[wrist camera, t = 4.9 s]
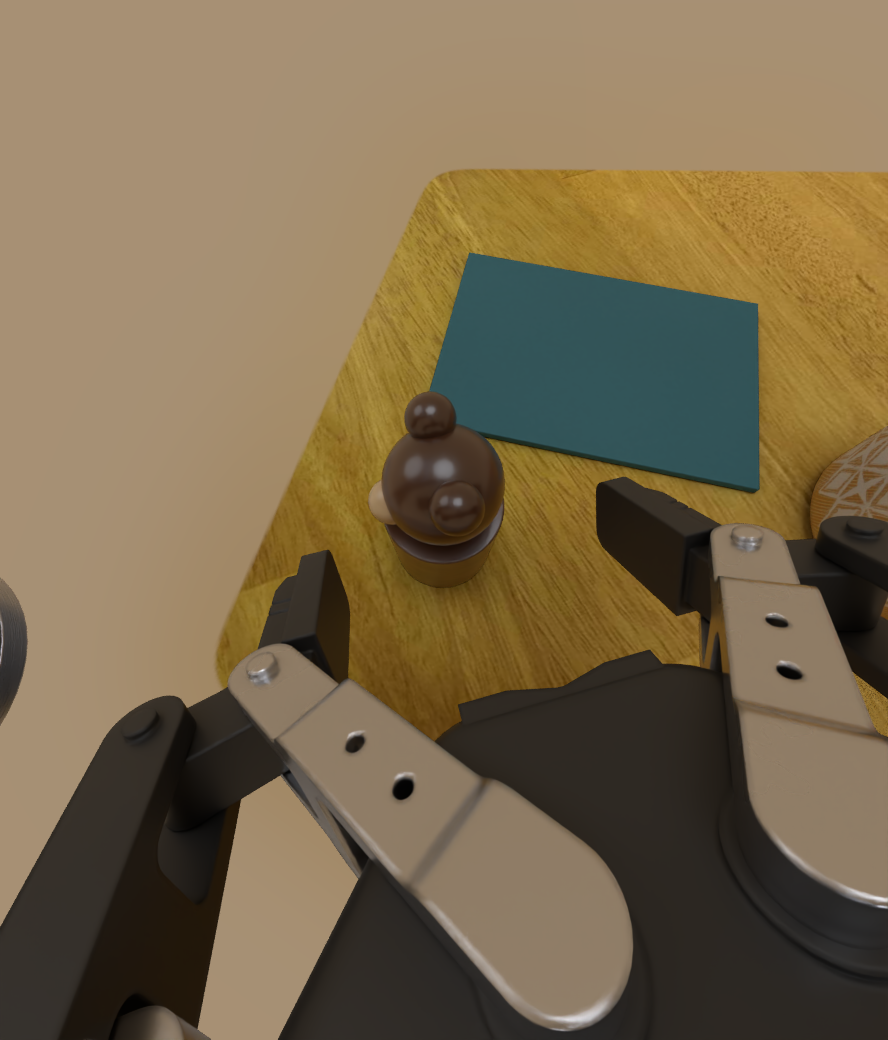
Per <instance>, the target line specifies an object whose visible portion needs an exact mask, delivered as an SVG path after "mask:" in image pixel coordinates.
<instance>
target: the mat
mask: <svg viewBox="0 0 888 1040" xmlns="http://www.w3.org/2000/svg"><path fill="white" fill-rule="evenodd" d="M429 392H437V393H440V394H442V395H444V396H446V397H447V398H448V399H449V400H450V401H451V402H452V404H453V406H454V408H455V411H456V416H457V422H456V423H458V424H461V425H464V426H467V427H469V428H471V429H473V430H474V431H476V432H478V433H479V434H480V435H482V436H483V437H488V438H493V439H498V440H503V441H508V442H512V443H517V444H522V445H527V446H532V447H536V448H541V449H546V450H551V451H556V452H560V453H565V454H570V455H575V456H580V457H584V458H589V459H594V460H599V461H604V462H608V463H613V464H618V465H623V466H628V467H633V468H637V469H642V470H647V471H652V472H657V473H661V474H666V475H671V476H676V477H681V478H685V479H690V480H695V481H700V482H705V483H709V484H714V485H719V486H724V487H729V488H733V489H738V490H743V491H748V492H753V493H754V492H756V491H758V490H759V375H758V304H756V303H750V302H745V301H739V300H734V299H728V298H722V297H717V296H711V295H705V294H700V293H694V292H689V291H683V290H677V289H672V288H666V287H660V286H655V285H649V284H644V283H638V282H632V281H627V280H621V279H615V278H610V277H604V276H599V275H593V274H587V273H582V272H576V271H570V270H565V269H559V268H554V267H548V266H542V265H537V264H531V263H525V262H520V261H514V260H508V259H503V258H497V257H492V256H486V255H480V254H475V253H469V256H468V259H467V262H466V266H465V269H464V273H463V276H462V280H461V283H460V287H459V290H458V294H457V297H456V301H455V304H454V307H453V311H452V314H451V318H450V321H449V325H448V328H447V332H446V335H445V339H444V342H443V346H442V349H441V353H440V356H439V359H438V363H437V366H436V370H435V373H434V377H433V380H432V384H431V387H430V391H429Z"/></svg>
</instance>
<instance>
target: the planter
mask: <svg viewBox="0 0 888 1040" xmlns="http://www.w3.org/2000/svg"><path fill="white" fill-rule="evenodd" d="M836 516H861V517H868V518H874V519H878V520H882V521H886V522H888V426H886V427H885V428H883V429H882V430H880V431H879V432H877V433H875V434H874V435H872V436H871V437H869V438H867V439H866V440H864V441H863V442H861V443H860V444H858V445H856V446H855V447H853V448H852V449H850V450H848V451H847V452H845V453H844V454H842V455H841V456H839V457H838V458H837V459H835V460H834V461H833V462H832V463H831V464H830V465H829V466H828V467H827V468H826V469H825V470H824V472H823V473H822V475H821V476H820V478H819V480H818V482H817V483H816V486H815V488H814V491H813V494H812V498H811V505H810V523H811V529H812V534H813V537H814V539H817V535H818V531H819V527H820V524H821V522H823V521H824V520H826V519H828V518H831V517H836ZM881 616H882V617H883V618H885V619H886V620H888V598H887V601H886V603H885V606H884V608H883V611H882V613H881Z"/></svg>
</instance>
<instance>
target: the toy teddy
mask: <svg viewBox="0 0 888 1040" xmlns="http://www.w3.org/2000/svg"><path fill="white" fill-rule="evenodd" d="M456 422H457V416H456V411H455V408H454V406H453V404H452V402H451V401H450V400H449V399H448V398H447V397H446V396H444V395H442V394H440V393H437V392H424V393H421V394H419V395H417V396H415V397H414V398H413V399H412V400H411V401H410V402H409V404H408V406H407V408H406V411H405V426H406V429H407V431H408V433H407V434H406V435H405V436H403V437H402V438H401V439H400V440H399V441H398V442H397V443H396V444H395V446H394V447H393V448H392V450H391V451H390V453H389V455H388V457H387V459H386V461H385V464H384V468H383V472H382V480H380V481H379V482H377V483H376V484H375V485H374V486H373V488H372V489H371V491H370V494H369V499H368V503H369V508H370V511H371V513H372V514H373V516H374V517H375V518H376V519H377V520H379V521H380V522H382V523H384V524H385V527H386V529H387V532H388V534H389V536H390V539H391V541H392V543H393V546H394V548H395V550H396V553H397V555H398V557H399V560H400V562H401V564H402V565H403V567H404V568H405V570H406V571H407V572H408V573H409V574H410V575H411V576H412V577H413V578H415V579H416V580H417V581H419V582H421V583H423V584H426V585H429V586H432V587H439V588H446V587H453V586H457V585H460V584H462V583H464V582H466V581H468V580H469V579H471V578H472V577H473V576H475V575H476V574H477V573H478V571H479V570H480V569H481V568H482V566H483V565H484V563H485V560H486V558H487V556H488V554H489V552H490V549H491V547H492V545H493V543H494V540H495V538H496V536H497V534H498V531H499V529H500V527H501V524H502V521H503V516H504V498H503V496H504V490H505V479H504V471H503V467H502V464H501V461H500V459H499V457H498V455H497V453H496V451H495V450H494V448H493V447H492V445H491V444H490V443H489V442H488V441H487V440H486V439H485V438H484V437H483V436H482V435H480V434H479V433H478V432H476V431H474V430H473V429H471V428H469V427H467V426H464V425H461V424H458V423H456Z"/></svg>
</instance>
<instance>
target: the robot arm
mask: <svg viewBox="0 0 888 1040" xmlns="http://www.w3.org/2000/svg"><path fill="white" fill-rule="evenodd" d="M596 528H597V535H598V539H599V541H600V543H601V545H602V547H603V548H604V549H605V550H606V551H607V552H608V553H609V554H610V555H611V556H612V557H614V558H615V559H616V560H617V561H618V562H619V563H620V564H621V565H622V566H623V567H624V568H625V569H626V570H628V571H629V572H630V573H631V574H632V575H633V576H634V577H635V578H636V579H637V580H638V581H639V582H640V583H642V584H643V585H644V586H645V587H646V588H647V589H648V590H649V591H650V592H651V593H652V594H653V595H654V596H656V597H657V598H658V599H659V600H660V601H661V602H662V603H663V604H664V605H665V606H666V607H667V608H668V609H670V610H671V611H672V612H673V613H674V614H675V615H676V616H679V615H683V614H686V613H690V612H693V611H698V612H699V613H700V618H699V654H700V667H697V666H691V665H683V664H662V663H661V662H660V661H659V659H658V658H657V657H656V656H655V655H654V654H653V653H652V652H651V650H646V651H643V652H639V653H636V654H632V655H629V656H625V657H622V658H619V659H615V660H612V661H608V662H605V663H603V664H601V665H599V666H597V667H596V668H594V669H592V670H591V671H589V672H587V673H585V674H584V675H582V676H580V677H579V678H577V679H575V680H574V681H572V682H570V683H568V684H567V685H565V686H562V687H558V688H543V689H526V690H510V691H504V692H500V693H497V694H493V695H490V696H486V697H483V698H479V699H476V700H472V701H469V702H465V703H462V704H458V707H459V711H460V715H461V719H462V721H461V722H459V723H457V724H456V725H454V726H452V727H451V728H450V729H448V730H447V731H446V732H444V733H443V734H442V735H441V736H440V737H439V738H438V739H437V740H435V741H433V740H431V739H430V738H429V737H427V736H426V735H425V734H423V733H422V732H421V731H420V730H418V729H417V728H416V727H414V726H413V725H412V724H410V723H409V722H408V721H406V720H405V719H404V718H402V717H401V716H400V715H399V714H397V713H396V712H395V711H393V710H392V709H391V708H389V707H388V706H387V705H385V704H384V703H383V702H381V701H380V700H379V699H378V698H376V697H375V696H374V695H372V694H371V693H370V692H368V691H367V690H366V689H364V688H363V687H362V686H360V685H359V684H358V683H356V682H355V681H354V680H352V679H349V678H348V664H349V632H350V609H349V603H348V599H347V595H346V592H345V589H344V587H343V584H342V581H341V578H340V575H339V573H338V570H337V567H336V564H335V562H334V559H333V556H332V554H331V552H330V551H329V550H325V551H321V552H317V553H313V554H309V555H305V556H302V557H301V561H300V565H299V569H298V573H297V575H296V576H292V577H288V578H286V579H285V580H284V582H283V583H282V584H281V585H280V586H279V587H278V589H277V590H276V591H275V595H274V598H273V601H272V606H271V608H270V611H269V616H268V617H267V621H266V624H265V627H264V630H263V633H262V637H261V640H260V643H259V646H258V650H256V651H254V652H253V653H251V654H249V655H248V656H247V657H245V658H244V659H243V660H242V661H241V662H240V663H239V664H238V665H237V666H236V667H235V668H234V670H233V671H232V673H231V674H230V676H229V679H228V687H227V688H226V689H224V690H222V691H220V692H218V693H217V694H215V695H212V696H210V697H208V698H206V699H205V700H203V701H201V702H199V703H197V704H195V705H193V706H191V707H189V708H187V707H186V706H185V704H184V703H183V701H182V700H181V699H180V698H178V697H175V696H162V697H159V698H155V699H153V700H150V701H148V702H146V703H144V704H142V705H140V706H138V707H137V708H135V709H134V710H132V711H131V712H129V713H128V714H127V715H125V716H124V717H123V718H122V719H121V720H119V721H118V722H117V723H116V724H115V725H114V726H113V727H112V729H111V730H110V731H109V733H108V734H107V735H106V737H105V738H104V740H103V742H102V743H101V745H100V747H99V749H98V751H97V752H96V754H95V756H94V758H93V760H92V762H91V763H90V765H89V767H88V769H87V771H86V772H85V774H84V776H83V778H82V780H81V782H80V783H79V785H78V787H77V789H76V791H75V792H74V794H73V796H72V798H71V800H70V802H69V803H68V805H67V807H66V809H65V810H64V812H63V814H62V816H61V818H60V820H59V821H58V823H57V825H56V827H55V829H54V830H53V832H52V834H51V836H50V838H49V839H48V841H47V843H46V845H45V847H44V849H43V850H42V852H41V854H40V856H39V858H38V859H37V861H36V863H35V865H34V867H33V868H32V870H31V872H30V874H29V876H28V878H27V879H26V881H25V883H24V885H23V887H22V889H21V890H20V892H19V894H18V896H17V898H16V899H15V901H14V903H13V905H12V907H11V908H10V910H9V912H8V914H7V916H6V918H5V919H4V921H3V923H2V925H1V926H0V1040H211V1039H210V1038H209V1037H207V1036H206V1035H204V1034H203V1033H201V1032H200V1031H199V1030H197V1029H198V1023H199V1018H200V1013H201V1007H202V1002H203V997H204V992H205V987H206V981H207V975H208V971H209V965H210V960H211V955H212V950H213V944H214V939H215V934H216V929H217V923H218V918H219V913H220V908H221V902H222V897H223V892H224V887H225V881H226V876H227V871H228V865H229V860H230V855H231V850H232V845H233V839H234V834H235V829H236V824H237V818H238V813H239V808H240V802H241V799H242V798H244V797H245V796H247V795H249V794H250V793H252V792H253V791H255V790H257V789H258V788H260V787H262V786H263V785H265V784H267V783H268V782H270V781H272V780H273V779H275V778H277V777H278V776H280V775H281V777H282V778H283V779H284V781H285V782H286V783H287V785H288V786H289V787H290V788H291V790H292V791H293V792H294V793H295V794H296V796H297V797H298V798H299V800H300V801H301V802H302V804H303V805H304V806H305V807H306V809H307V810H308V811H309V812H310V814H311V815H312V816H313V818H314V819H315V820H316V821H317V823H318V824H319V825H320V826H321V828H322V829H323V830H324V832H325V833H326V834H327V836H328V837H329V838H330V840H331V841H332V843H333V844H334V846H335V847H336V849H337V850H338V852H339V853H340V855H341V856H342V857H343V859H344V860H345V861H346V863H347V864H348V866H349V867H350V868H351V870H352V871H353V872H354V874H355V875H356V876H357V878H358V881H357V883H356V885H355V887H354V889H353V891H352V893H351V895H350V897H349V899H348V901H347V904H346V905H345V907H344V909H343V911H342V913H341V915H340V917H339V919H338V921H337V923H336V925H335V927H334V929H333V931H332V933H331V935H330V937H329V939H328V941H327V943H326V945H325V947H324V949H323V951H322V953H321V955H320V957H319V959H318V961H317V963H316V965H315V967H314V969H313V971H312V973H311V975H310V977H309V979H308V981H307V983H306V985H305V987H304V989H303V991H302V993H301V995H300V997H299V999H298V1001H297V1003H296V1004H295V1007H294V1008H293V1010H292V1012H291V1014H290V1017H289V1018H288V1020H287V1022H286V1024H285V1026H284V1028H283V1030H282V1032H281V1034H280V1036H279V1038H278V1040H888V737H886V736H884V735H881V734H879V733H878V731H877V730H876V729H875V727H874V725H873V723H872V721H871V718H870V716H869V713H868V710H867V708H866V705H865V703H864V700H863V698H862V695H861V693H860V690H859V688H858V685H857V683H856V680H855V678H854V675H853V673H852V672H854V673H855V674H856V675H857V676H859V677H860V678H861V679H863V680H864V681H865V682H867V683H868V684H869V685H871V686H872V687H873V688H874V689H876V690H877V691H878V692H880V693H881V694H882V695H884V696H885V697H886V698H888V620H886V619H885V618H883V617H882V616H881V613H882V611H883V608H884V606H885V603H886V601H887V598H888V522H886V521H882V520H878V519H874V518H868V517H861V516H836V517H831V518H828V519H826V520H824V521H823V522H821V524H820V527H819V531H818V535H817V539H801V540H784V538H783V537H782V536H781V535H780V534H778V533H777V532H775V531H773V530H771V529H768V528H765V527H762V526H758V525H753V524H744V523H734V524H726V525H720V524H719V523H717V522H715V521H713V520H711V519H710V518H708V517H706V516H704V515H703V514H701V513H699V512H697V511H695V510H694V509H692V508H688V506H687V505H685V504H683V503H681V502H677V500H676V499H674V498H672V497H671V496H669V495H667V494H665V493H663V492H659V491H656V490H652V489H648V488H644V487H643V486H641V485H639V484H637V483H636V482H634V481H632V480H631V479H629V478H627V477H621V478H617V479H613V480H609V481H605V482H601V483H599V484H598V485H597V488H596Z"/></svg>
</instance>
